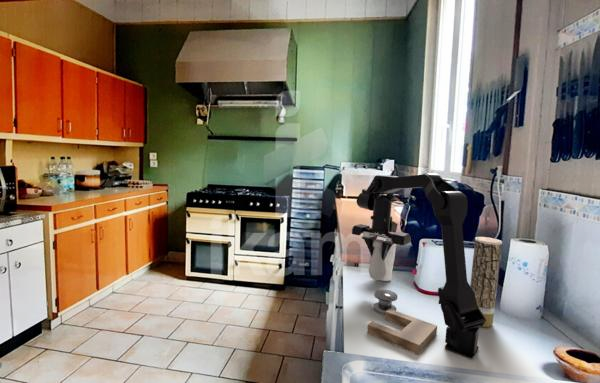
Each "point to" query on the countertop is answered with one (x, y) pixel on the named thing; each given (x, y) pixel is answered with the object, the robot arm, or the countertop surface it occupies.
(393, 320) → the notched board
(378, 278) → the salt shaker
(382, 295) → the spool
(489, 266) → the wooden log
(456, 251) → the robot arm
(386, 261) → the drinking glass
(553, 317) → the countertop surface
